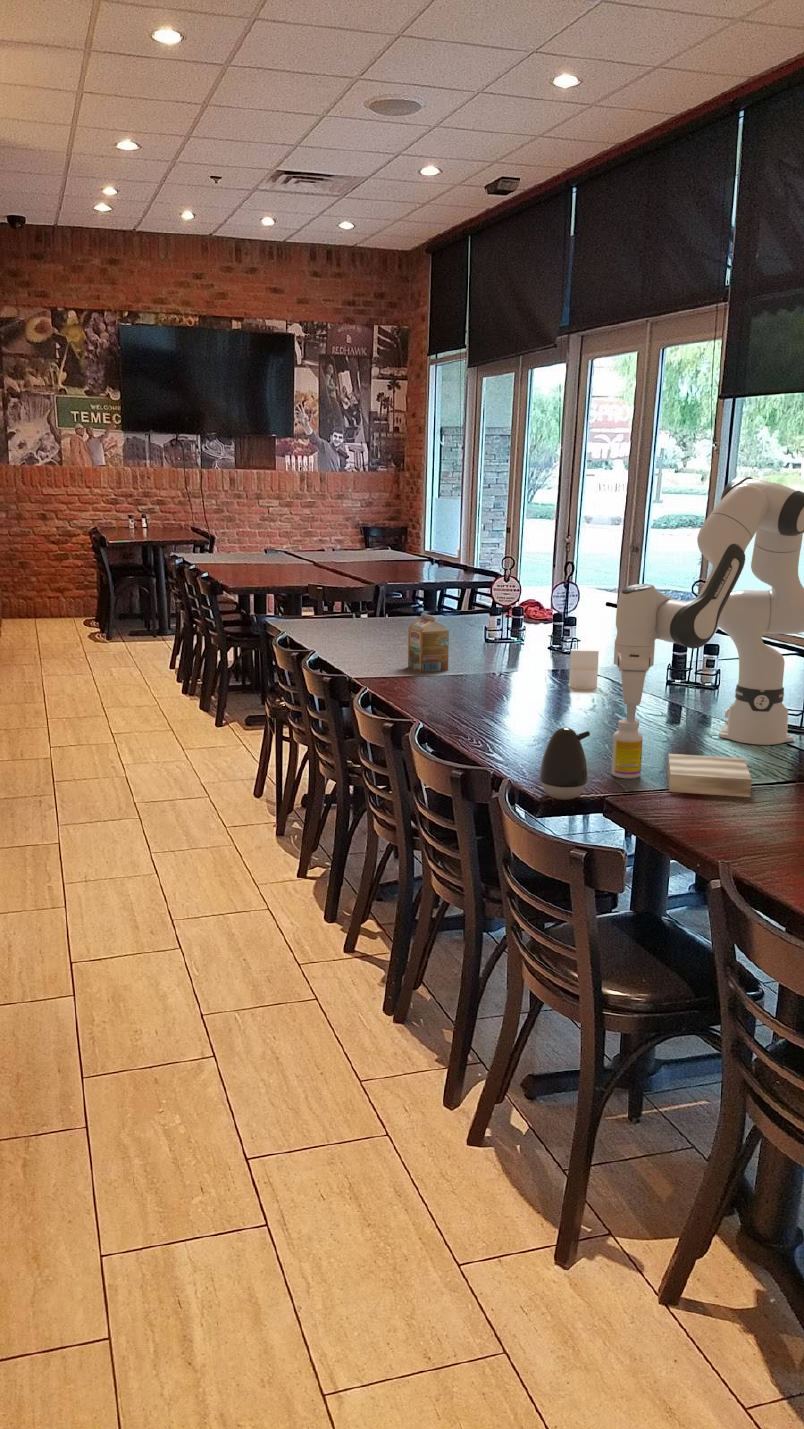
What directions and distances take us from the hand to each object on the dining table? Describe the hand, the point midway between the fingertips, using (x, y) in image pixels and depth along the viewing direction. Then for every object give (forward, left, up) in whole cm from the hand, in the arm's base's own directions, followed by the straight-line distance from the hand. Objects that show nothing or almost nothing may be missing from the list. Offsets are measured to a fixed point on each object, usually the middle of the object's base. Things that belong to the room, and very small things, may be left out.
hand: (630, 717), depth 247 cm
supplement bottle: (-1, 0, -14) cm, 14 cm away
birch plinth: (+1, +18, -14) cm, 23 cm away
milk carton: (-125, -70, -14) cm, 144 cm away
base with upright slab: (-106, -15, -14) cm, 108 cm away
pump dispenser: (+19, -13, -14) cm, 28 cm away
